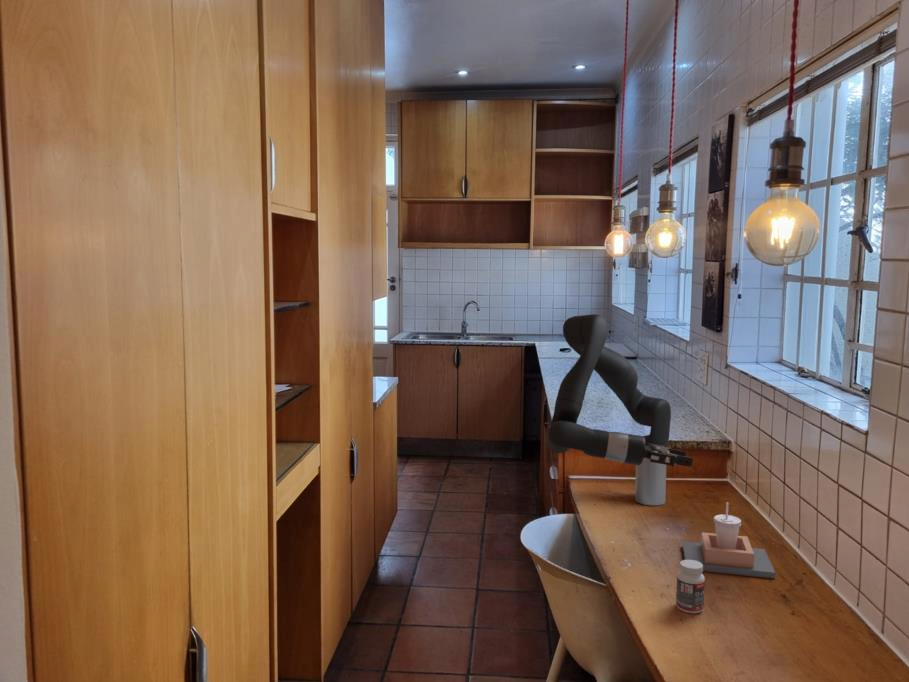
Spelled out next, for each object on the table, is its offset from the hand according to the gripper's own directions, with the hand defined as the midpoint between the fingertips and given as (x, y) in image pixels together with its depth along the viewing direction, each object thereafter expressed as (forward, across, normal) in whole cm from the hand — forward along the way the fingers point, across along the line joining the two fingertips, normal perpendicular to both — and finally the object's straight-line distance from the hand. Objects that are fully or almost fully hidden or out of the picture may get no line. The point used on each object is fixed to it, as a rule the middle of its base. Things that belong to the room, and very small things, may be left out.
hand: (688, 459), depth 173 cm
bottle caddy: (+13, -2, +24) cm, 27 cm away
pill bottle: (-1, -27, +28) cm, 39 cm away
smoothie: (+12, -2, +22) cm, 26 cm away
